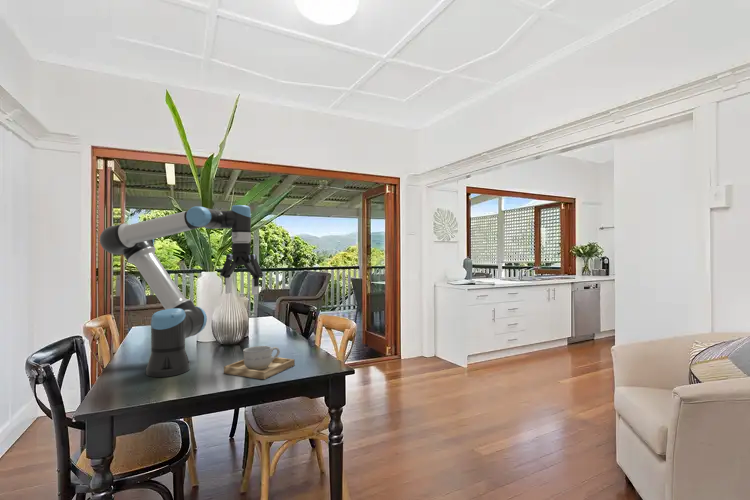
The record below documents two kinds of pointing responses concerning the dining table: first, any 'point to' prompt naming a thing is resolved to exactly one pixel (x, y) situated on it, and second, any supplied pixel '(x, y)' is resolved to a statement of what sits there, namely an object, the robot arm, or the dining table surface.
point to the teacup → (259, 357)
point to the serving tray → (272, 369)
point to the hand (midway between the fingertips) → (241, 293)
